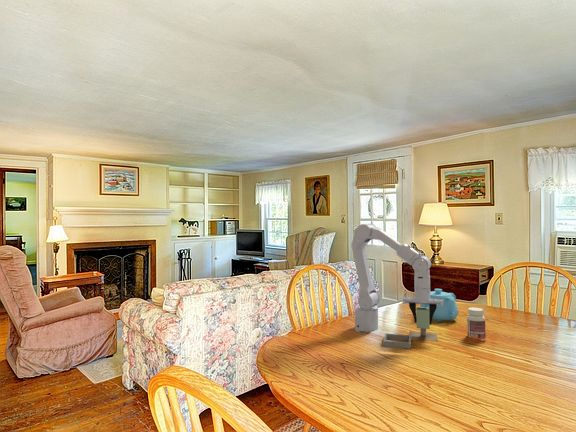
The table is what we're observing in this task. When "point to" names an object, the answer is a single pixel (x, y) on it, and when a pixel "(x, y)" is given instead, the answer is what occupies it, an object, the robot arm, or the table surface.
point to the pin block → (423, 335)
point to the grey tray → (397, 344)
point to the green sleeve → (422, 317)
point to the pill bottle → (476, 324)
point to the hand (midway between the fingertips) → (423, 323)
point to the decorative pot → (448, 308)
